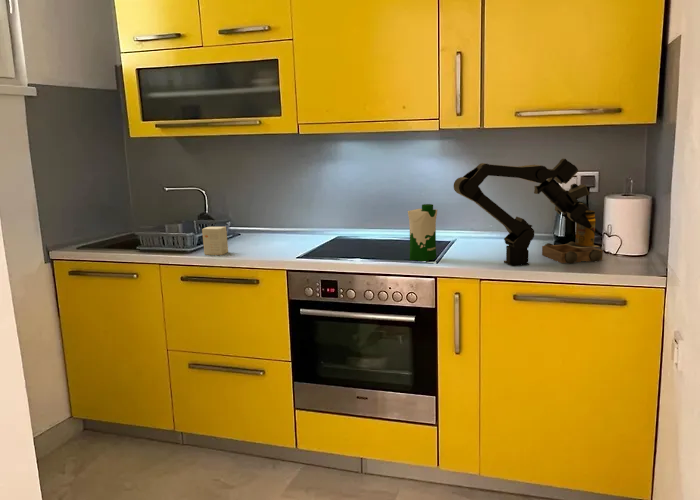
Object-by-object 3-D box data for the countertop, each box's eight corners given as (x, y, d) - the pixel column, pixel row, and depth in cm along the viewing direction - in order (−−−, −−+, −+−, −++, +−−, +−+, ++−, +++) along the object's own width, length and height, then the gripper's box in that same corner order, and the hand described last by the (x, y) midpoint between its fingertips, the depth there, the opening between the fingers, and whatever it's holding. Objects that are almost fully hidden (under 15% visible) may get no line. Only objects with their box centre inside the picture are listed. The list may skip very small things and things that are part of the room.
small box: (228, 252, 250) (226, 226, 247) (222, 255, 244) (220, 228, 242) (210, 251, 252) (208, 226, 250) (203, 254, 246) (201, 228, 244)
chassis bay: (563, 264, 210) (563, 252, 209) (540, 254, 225) (540, 243, 225) (604, 260, 212) (604, 249, 211) (578, 251, 228) (579, 241, 227)
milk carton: (427, 263, 218) (426, 206, 214) (405, 260, 223) (404, 205, 219) (440, 258, 224) (439, 203, 220) (418, 256, 230) (418, 202, 226)
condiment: (599, 246, 210) (602, 211, 207) (579, 248, 207) (581, 213, 205) (584, 243, 217) (586, 208, 214) (564, 245, 214) (566, 210, 211)
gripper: (583, 178, 198) (616, 213, 200) (565, 174, 217) (596, 205, 218) (557, 203, 200) (589, 237, 202) (541, 197, 218) (572, 227, 220)
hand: (587, 226), depth 211 cm, fingers closed on condiment, 6 cm apart
